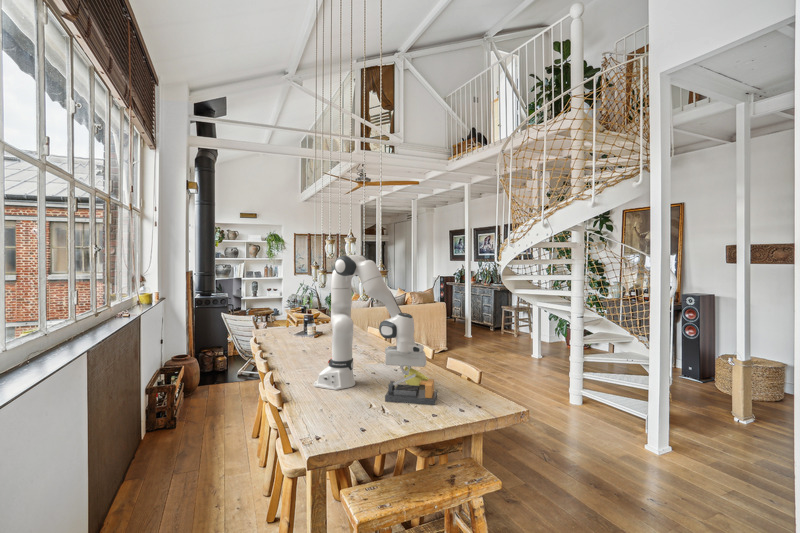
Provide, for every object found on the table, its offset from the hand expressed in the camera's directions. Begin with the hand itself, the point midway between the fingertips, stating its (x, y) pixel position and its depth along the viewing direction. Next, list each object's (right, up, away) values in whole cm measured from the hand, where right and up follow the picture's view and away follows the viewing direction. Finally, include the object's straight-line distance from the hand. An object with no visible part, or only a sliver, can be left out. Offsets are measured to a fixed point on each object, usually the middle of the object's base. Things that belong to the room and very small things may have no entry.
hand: (405, 374), depth 193 cm
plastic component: (+7, -12, +24) cm, 28 cm away
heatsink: (+3, -12, 0) cm, 12 cm away
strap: (-1, -3, 0) cm, 4 cm away
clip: (+10, -9, -2) cm, 14 cm away
